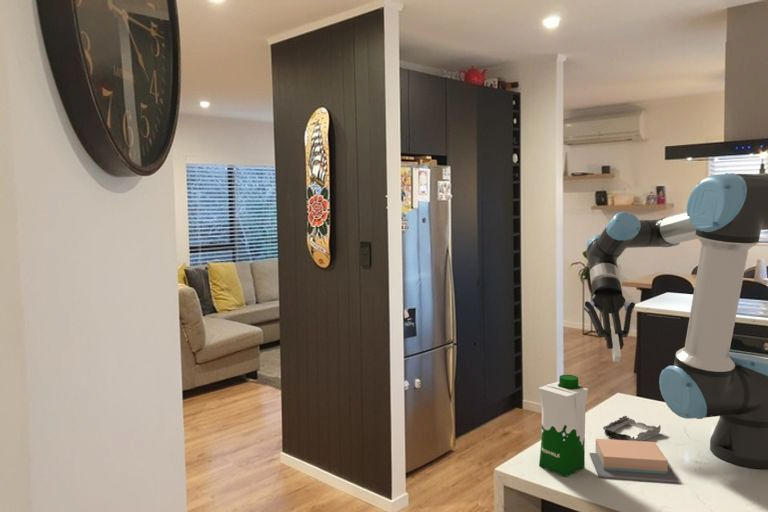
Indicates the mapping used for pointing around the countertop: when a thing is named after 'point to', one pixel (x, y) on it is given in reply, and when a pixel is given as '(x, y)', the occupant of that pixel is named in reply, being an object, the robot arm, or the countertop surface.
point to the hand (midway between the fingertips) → (617, 359)
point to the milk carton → (563, 426)
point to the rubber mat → (632, 473)
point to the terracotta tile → (631, 456)
